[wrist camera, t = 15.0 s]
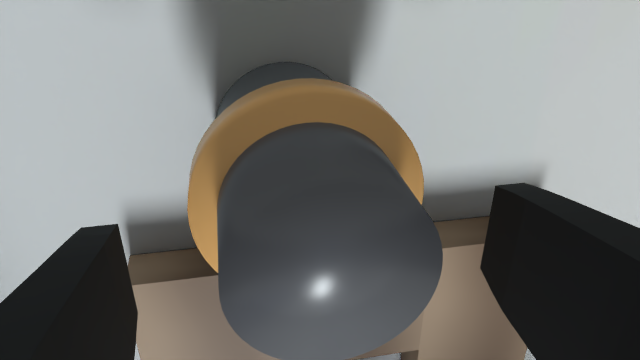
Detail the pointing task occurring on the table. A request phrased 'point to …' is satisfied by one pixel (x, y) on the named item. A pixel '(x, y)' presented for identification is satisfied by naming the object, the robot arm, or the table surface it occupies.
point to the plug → (312, 216)
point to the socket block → (414, 342)
